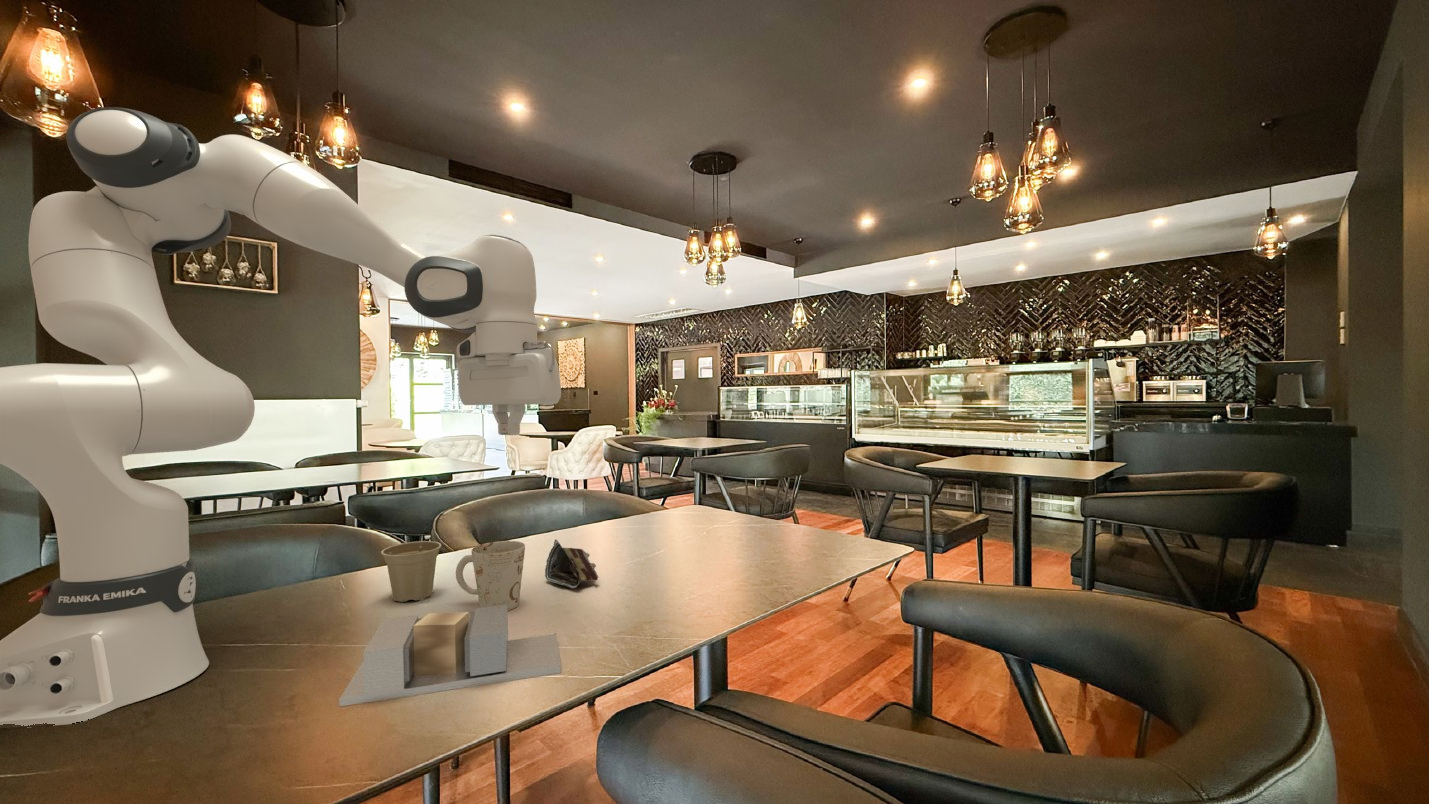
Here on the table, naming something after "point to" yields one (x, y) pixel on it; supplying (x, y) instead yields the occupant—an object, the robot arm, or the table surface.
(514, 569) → the mug
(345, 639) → the table surface
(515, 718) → the table surface
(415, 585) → the flower pot
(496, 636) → the block
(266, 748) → the table surface
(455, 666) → the block
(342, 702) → the vise base
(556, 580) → the chocolate cake
